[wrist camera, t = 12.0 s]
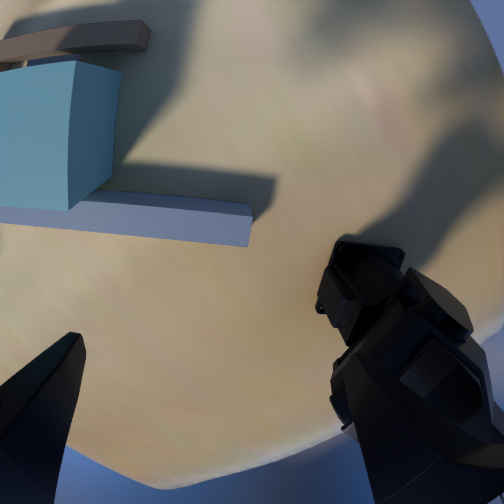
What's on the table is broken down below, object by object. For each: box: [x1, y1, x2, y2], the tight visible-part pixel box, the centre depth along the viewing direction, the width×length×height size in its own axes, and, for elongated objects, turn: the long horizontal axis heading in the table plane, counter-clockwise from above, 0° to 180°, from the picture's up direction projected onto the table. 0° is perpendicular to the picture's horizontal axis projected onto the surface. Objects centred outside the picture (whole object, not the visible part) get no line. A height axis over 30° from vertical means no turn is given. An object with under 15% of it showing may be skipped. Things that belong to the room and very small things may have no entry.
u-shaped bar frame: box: [0, 20, 253, 247], centre depth 16 cm, size 21×13×2 cm, turn 81°
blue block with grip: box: [0, 54, 122, 211], centre depth 14 cm, size 5×8×7 cm, turn 171°
